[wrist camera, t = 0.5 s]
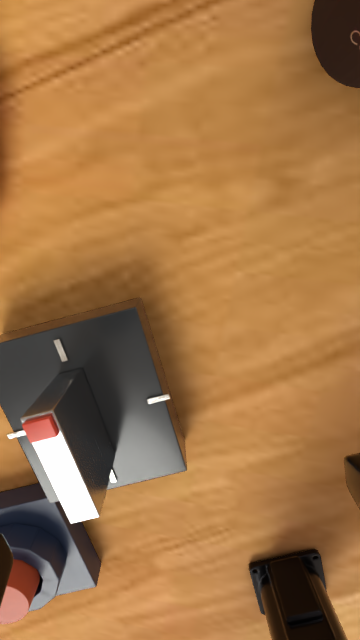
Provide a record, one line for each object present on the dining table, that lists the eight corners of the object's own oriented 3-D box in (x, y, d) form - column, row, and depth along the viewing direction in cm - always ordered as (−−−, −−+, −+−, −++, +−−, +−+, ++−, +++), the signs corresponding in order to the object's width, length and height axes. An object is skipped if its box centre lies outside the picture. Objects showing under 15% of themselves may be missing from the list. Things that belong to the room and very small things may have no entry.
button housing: (101, 563, 26) (91, 612, 22) (7, 585, 26) (-17, 636, 23) (61, 477, 23) (42, 517, 20) (-44, 502, 23) (-80, 547, 20)
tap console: (189, 440, 22) (192, 471, 19) (60, 471, 23) (43, 507, 20) (146, 295, 19) (141, 305, 16) (-4, 335, 20) (-36, 352, 16)
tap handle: (116, 453, 19) (98, 521, 14) (93, 459, 19) (68, 529, 14) (82, 367, 17) (50, 413, 13) (57, 374, 17) (16, 422, 13)
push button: (48, 588, 22) (38, 617, 20) (-1, 599, 22) (-15, 629, 20) (27, 551, 21) (15, 578, 19) (-24, 563, 21) (-41, 591, 19)
